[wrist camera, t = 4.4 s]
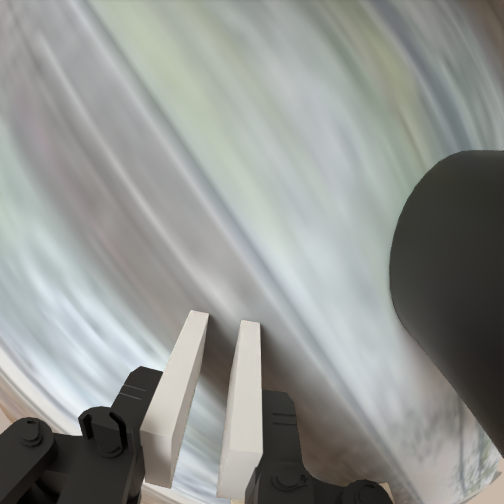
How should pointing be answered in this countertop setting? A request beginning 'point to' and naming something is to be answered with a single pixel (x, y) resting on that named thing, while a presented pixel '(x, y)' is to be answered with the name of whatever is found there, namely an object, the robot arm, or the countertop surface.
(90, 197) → the countertop surface
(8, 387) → the countertop surface
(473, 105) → the countertop surface
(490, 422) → the black cup
